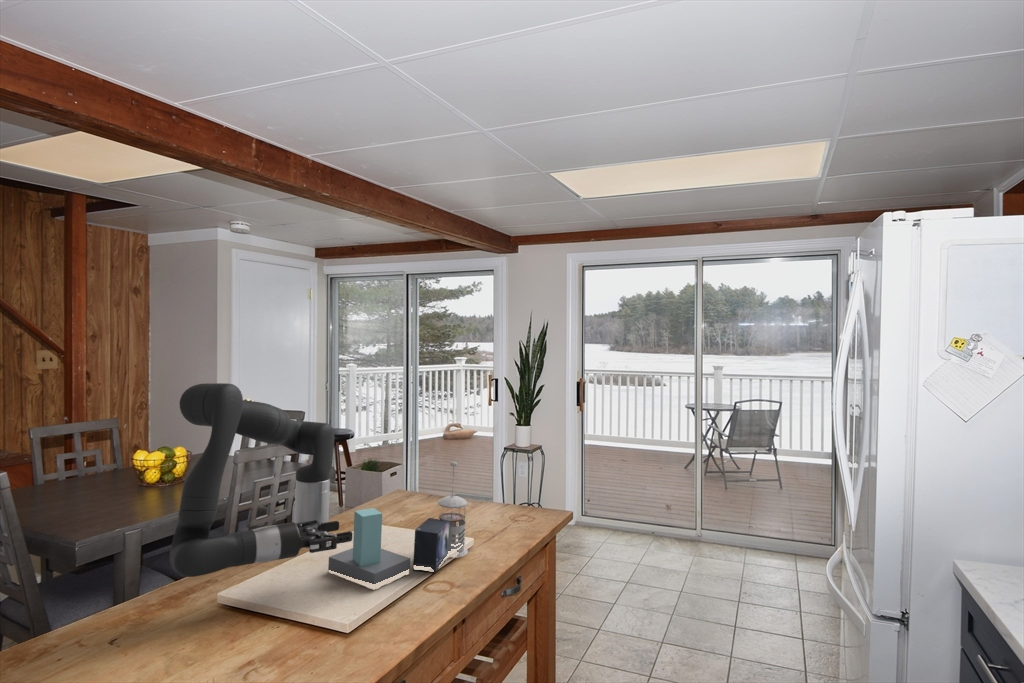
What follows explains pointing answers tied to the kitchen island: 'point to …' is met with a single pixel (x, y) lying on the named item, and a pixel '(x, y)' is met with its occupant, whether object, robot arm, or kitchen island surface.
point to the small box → (431, 543)
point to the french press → (454, 520)
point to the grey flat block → (369, 566)
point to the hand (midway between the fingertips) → (345, 530)
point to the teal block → (367, 536)
